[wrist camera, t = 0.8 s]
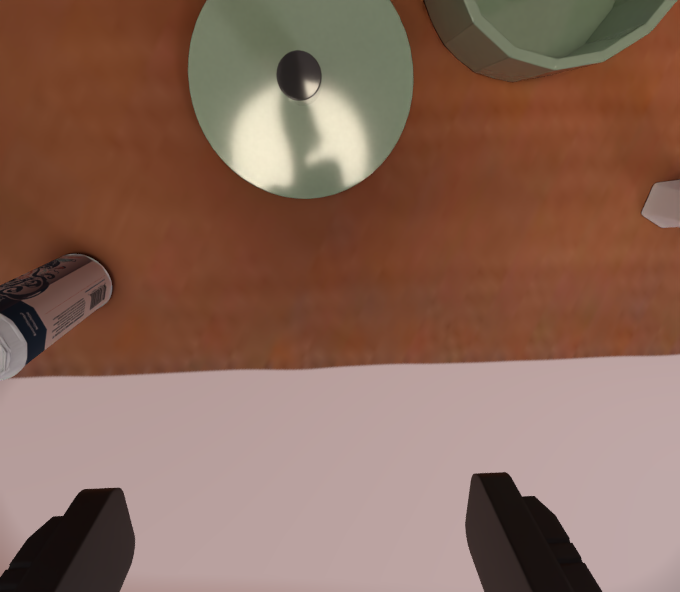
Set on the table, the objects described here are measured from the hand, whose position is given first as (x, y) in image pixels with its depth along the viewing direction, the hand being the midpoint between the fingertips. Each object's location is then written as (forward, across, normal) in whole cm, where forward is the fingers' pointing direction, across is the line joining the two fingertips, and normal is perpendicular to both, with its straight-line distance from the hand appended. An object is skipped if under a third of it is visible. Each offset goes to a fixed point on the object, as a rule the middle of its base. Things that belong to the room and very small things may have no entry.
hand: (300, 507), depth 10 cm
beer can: (+26, +18, +3) cm, 32 cm away
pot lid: (+25, 0, -11) cm, 27 cm away
